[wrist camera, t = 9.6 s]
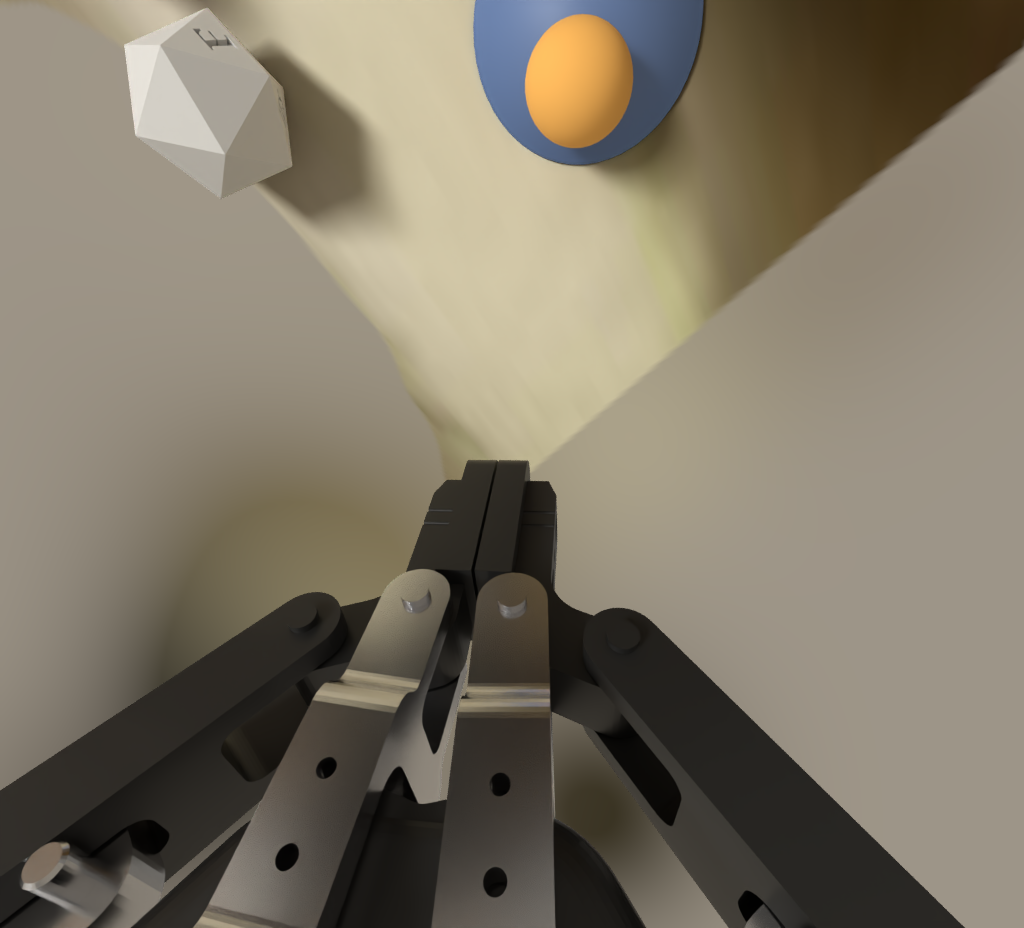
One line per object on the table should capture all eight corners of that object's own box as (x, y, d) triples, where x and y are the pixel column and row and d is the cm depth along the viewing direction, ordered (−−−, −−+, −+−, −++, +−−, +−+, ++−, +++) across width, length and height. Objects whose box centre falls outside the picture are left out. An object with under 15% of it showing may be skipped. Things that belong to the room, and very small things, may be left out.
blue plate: (460, -116, 26) (459, -117, 26) (722, -152, 25) (722, -154, 25) (485, 170, 34) (485, 170, 34) (685, 157, 33) (686, 157, 32)
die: (339, 159, 35) (278, 48, 26) (249, 243, 35) (153, 162, 26) (259, 71, 35) (166, -74, 26) (168, 155, 35) (41, 41, 26)
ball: (507, 109, 27) (539, 177, 32) (624, 83, 25) (636, 161, 30) (513, -1, 27) (544, 86, 32) (628, -35, 25) (640, 64, 30)
